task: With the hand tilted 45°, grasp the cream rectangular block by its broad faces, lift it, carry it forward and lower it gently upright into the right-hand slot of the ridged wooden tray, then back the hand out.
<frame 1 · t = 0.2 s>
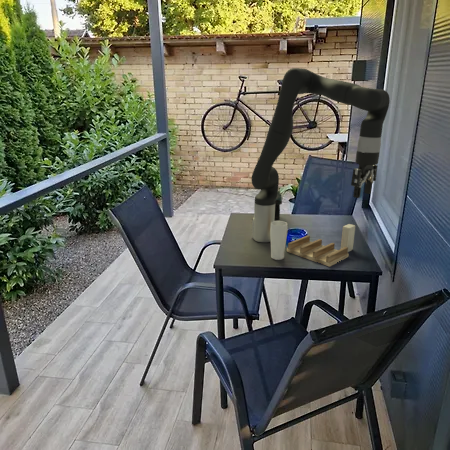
hand: (362, 195, 141), 29 cm above the table, tool pointing down, fingers open, 8 cm apart
cream rectangular block: (346, 250, 168), on the table
ridged wooden tray: (316, 254, 164), on the table
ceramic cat: (273, 220, 207), on the table
drinking glass: (277, 258, 161), on the table
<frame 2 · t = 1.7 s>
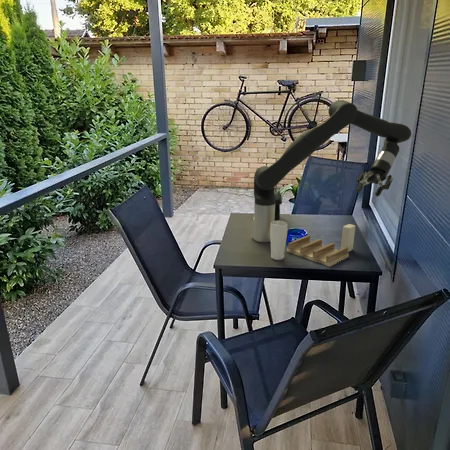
hand: (367, 193, 169), 23 cm above the table, tool tilted 45°, fingers open, 8 cm apart
nothing on the table moved.
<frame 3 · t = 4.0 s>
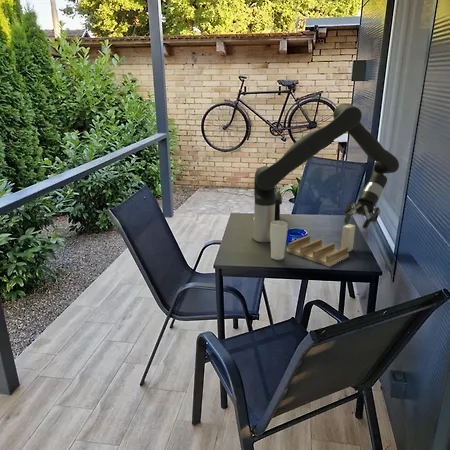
hand: (354, 225, 169), 10 cm above the table, tool tilted 45°, fingers open, 8 cm apart
nothing on the table moved.
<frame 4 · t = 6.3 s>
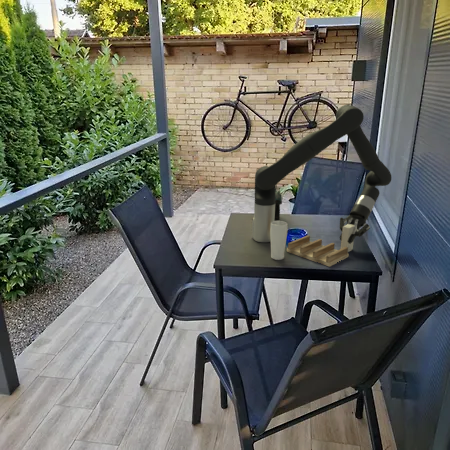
hand: (345, 241, 166), 5 cm above the table, tool tilted 45°, fingers closed on cream rectangular block, 3 cm apart
cream rectangular block: (346, 250, 168), on the table, touching gripper
everything else where it was.
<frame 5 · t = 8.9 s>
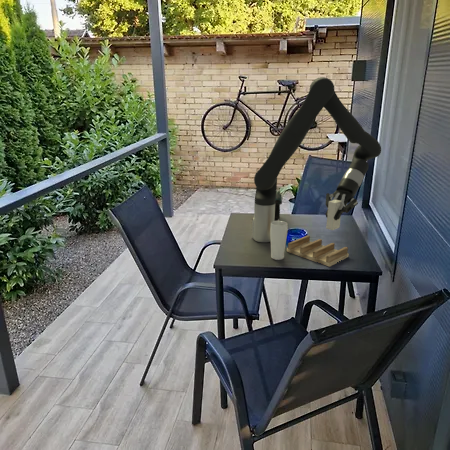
hand: (331, 218, 153), 18 cm above the table, tool tilted 45°, fingers closed on cream rectangular block, 3 cm apart
cream rectangular block: (332, 227, 156), point 13 cm above the table, touching gripper
everything else where it was.
when the fingers open (7 cm above the table, at t = 11.7 s): cream rectangular block stays where it is, resting on ridged wooden tray.
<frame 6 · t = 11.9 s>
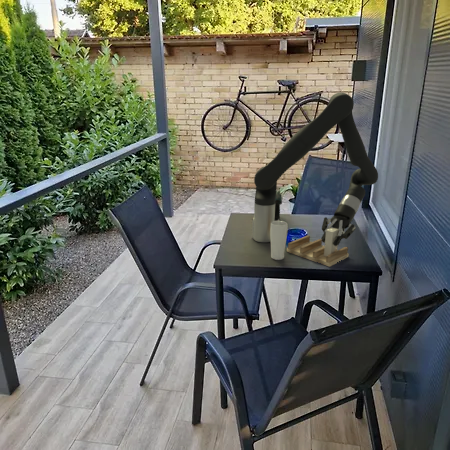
hand: (328, 243, 156), 7 cm above the table, tool tilted 45°, fingers open, 4 cm apart
cream rectangular block: (330, 255, 160), point 2 cm above the table, touching ridged wooden tray
everything else where it was.
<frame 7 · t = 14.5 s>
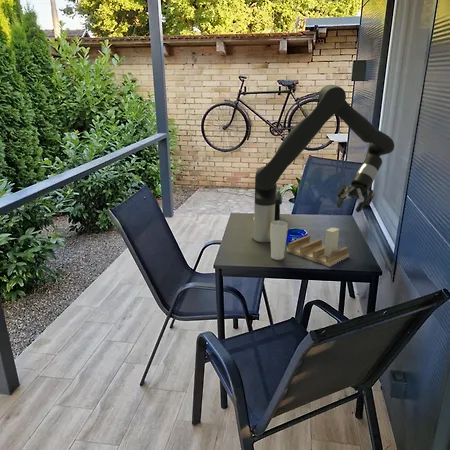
hand: (347, 209, 160), 19 cm above the table, tool tilted 45°, fingers open, 8 cm apart
nothing on the table moved.
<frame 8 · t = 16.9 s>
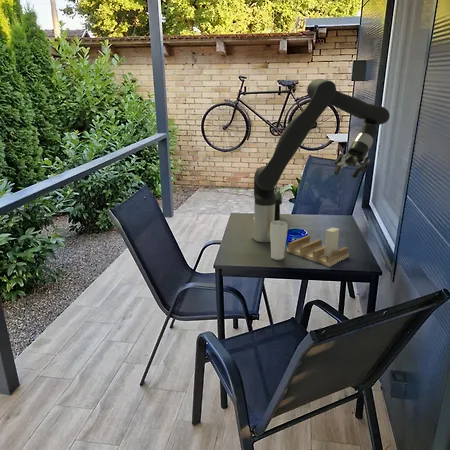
hand: (344, 175, 167), 31 cm above the table, tool tilted 45°, fingers open, 8 cm apart
nothing on the table moved.
at the end: cream rectangular block 0.1 cm from the target spot on the ridged wooden tray, point 1.5 cm above the ridged wooden tray's base; cream rectangular block tilted 0°; the gripper is holding nothing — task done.
